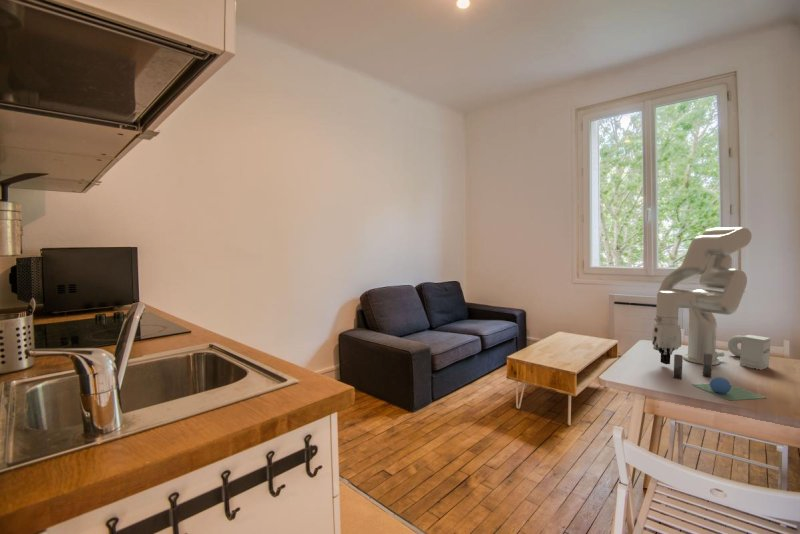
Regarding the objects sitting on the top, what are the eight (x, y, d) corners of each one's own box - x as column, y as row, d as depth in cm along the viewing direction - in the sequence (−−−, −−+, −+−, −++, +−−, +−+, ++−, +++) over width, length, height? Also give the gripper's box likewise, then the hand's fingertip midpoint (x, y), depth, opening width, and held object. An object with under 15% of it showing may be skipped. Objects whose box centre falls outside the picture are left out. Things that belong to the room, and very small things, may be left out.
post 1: (677, 376, 148) (678, 354, 148) (683, 379, 146) (684, 356, 145) (671, 377, 148) (672, 354, 147) (677, 379, 145) (678, 356, 145)
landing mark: (725, 383, 142) (725, 382, 142) (766, 398, 128) (766, 397, 128) (692, 385, 140) (692, 384, 140) (729, 400, 126) (729, 400, 126)
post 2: (706, 375, 150) (707, 352, 149) (713, 377, 147) (714, 354, 147) (700, 375, 150) (701, 353, 149) (707, 378, 147) (708, 355, 146)
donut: (755, 360, 169) (757, 337, 168) (750, 360, 168) (751, 338, 167) (730, 353, 178) (731, 332, 178) (725, 354, 177) (726, 333, 177)
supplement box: (761, 370, 155) (763, 340, 154) (739, 365, 162) (740, 336, 161) (769, 367, 159) (771, 337, 158) (747, 362, 165) (748, 334, 164)
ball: (733, 397, 129) (720, 391, 135) (736, 381, 129) (722, 375, 135) (717, 395, 130) (704, 389, 135) (720, 379, 129) (707, 373, 135)
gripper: (657, 322, 155) (656, 367, 156) (690, 321, 157) (688, 365, 158) (643, 319, 162) (642, 361, 163) (675, 318, 164) (673, 359, 165)
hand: (665, 363), depth 160 cm, fingers closed
